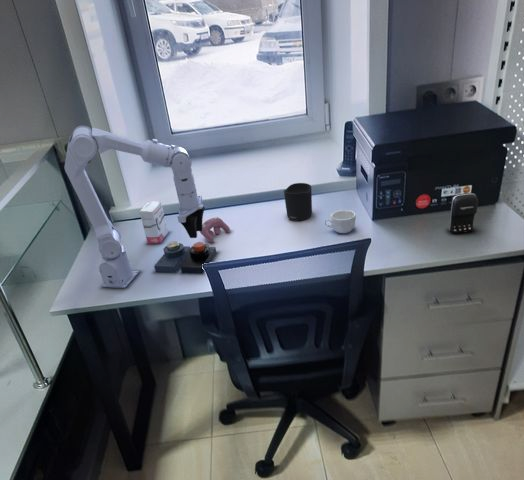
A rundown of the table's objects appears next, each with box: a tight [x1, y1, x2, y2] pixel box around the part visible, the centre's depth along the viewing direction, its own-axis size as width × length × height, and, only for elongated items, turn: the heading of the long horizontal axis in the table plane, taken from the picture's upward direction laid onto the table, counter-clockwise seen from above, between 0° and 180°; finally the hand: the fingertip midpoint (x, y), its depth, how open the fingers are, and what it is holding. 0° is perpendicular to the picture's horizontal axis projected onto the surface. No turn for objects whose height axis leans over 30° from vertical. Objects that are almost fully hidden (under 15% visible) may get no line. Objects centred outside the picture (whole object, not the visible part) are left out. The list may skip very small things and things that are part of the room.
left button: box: [166, 241, 179, 251], centre depth 159 cm, size 4×4×2 cm
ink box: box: [139, 200, 169, 245], centre depth 172 cm, size 9×5×12 cm, turn 168°
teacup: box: [324, 209, 357, 234], centre depth 161 cm, size 10×8×5 cm
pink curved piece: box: [199, 216, 231, 243], centre depth 170 cm, size 10×5×7 cm, turn 141°
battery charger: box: [448, 192, 479, 234], centre depth 149 cm, size 7×4×11 cm, turn 90°
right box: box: [179, 243, 218, 275], centre depth 157 cm, size 13×7×4 cm, turn 164°
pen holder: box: [283, 182, 313, 222], centre depth 172 cm, size 9×9×10 cm
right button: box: [192, 241, 205, 252], centre depth 157 cm, size 4×4×2 cm
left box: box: [153, 242, 191, 274], centre depth 159 cm, size 13×7×4 cm, turn 164°
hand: (196, 234), depth 154 cm, fingers open, 4 cm apart
